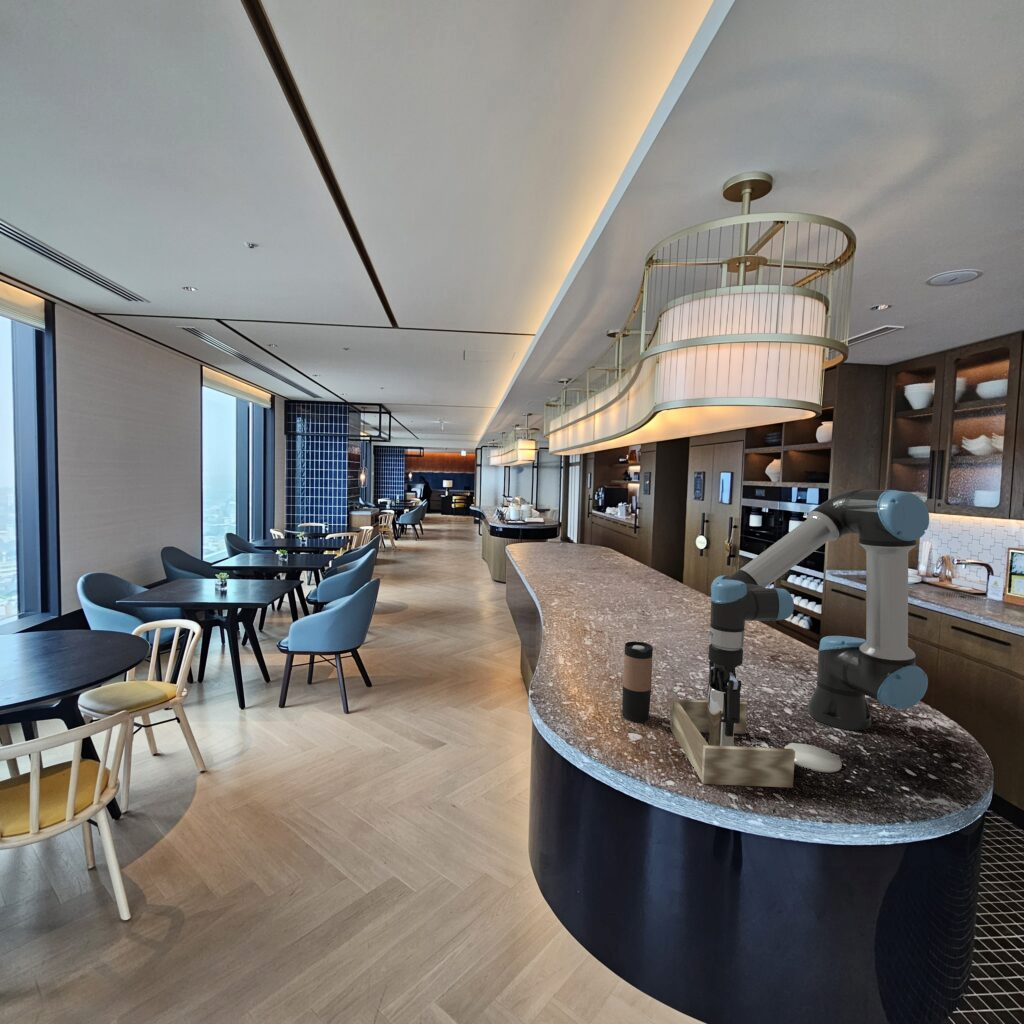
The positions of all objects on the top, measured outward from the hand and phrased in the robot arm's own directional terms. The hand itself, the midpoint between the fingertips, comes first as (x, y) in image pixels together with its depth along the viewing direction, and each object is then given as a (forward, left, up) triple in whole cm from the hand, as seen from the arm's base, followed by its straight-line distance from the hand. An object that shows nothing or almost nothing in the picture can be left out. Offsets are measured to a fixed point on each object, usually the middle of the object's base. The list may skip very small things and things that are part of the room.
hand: (720, 740), depth 126 cm
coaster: (-22, 0, -4) cm, 22 cm away
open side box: (-2, 0, -4) cm, 4 cm away
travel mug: (+16, -19, -4) cm, 25 cm away
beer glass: (0, 0, -2) cm, 2 cm away
